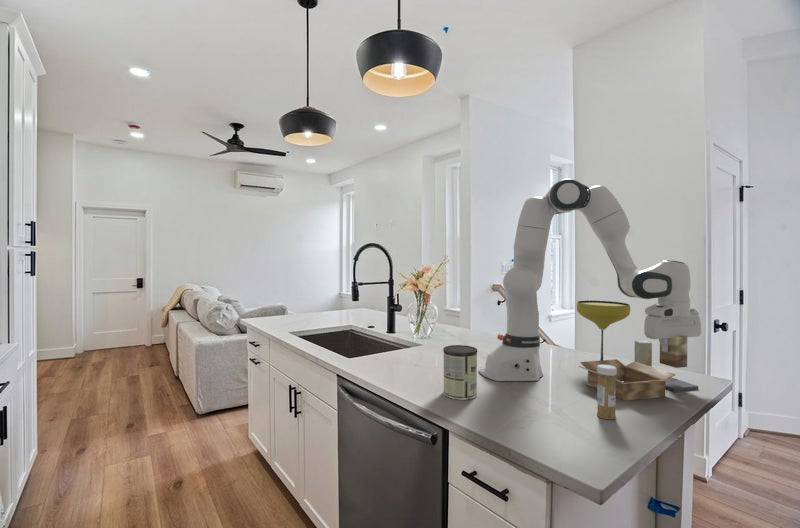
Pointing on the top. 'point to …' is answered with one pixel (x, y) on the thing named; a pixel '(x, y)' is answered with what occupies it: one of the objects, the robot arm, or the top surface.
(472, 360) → the coffee can
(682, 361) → the block
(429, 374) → the top surface
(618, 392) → the carton
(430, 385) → the top surface
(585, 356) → the top surface
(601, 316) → the cocktail glass
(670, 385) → the mat
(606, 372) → the sprinkles bottle
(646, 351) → the box
